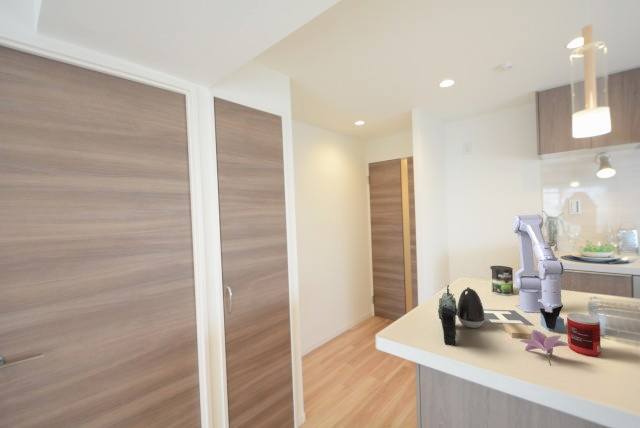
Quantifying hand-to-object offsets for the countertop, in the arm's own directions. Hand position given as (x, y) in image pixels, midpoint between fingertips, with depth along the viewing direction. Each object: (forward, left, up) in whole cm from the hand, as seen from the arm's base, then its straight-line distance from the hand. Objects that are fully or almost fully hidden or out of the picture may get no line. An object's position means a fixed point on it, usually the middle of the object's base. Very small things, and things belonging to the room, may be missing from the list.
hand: (552, 325), depth 102 cm
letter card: (+14, -10, -1) cm, 17 cm away
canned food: (0, +16, -2) cm, 16 cm away
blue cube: (0, 0, -1) cm, 1 cm away
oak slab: (+14, +6, -2) cm, 15 cm away
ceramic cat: (+40, +10, -2) cm, 41 cm away
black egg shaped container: (+29, 0, -2) cm, 29 cm away
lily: (+15, +22, -2) cm, 27 cm away
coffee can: (-1, -45, -2) cm, 45 cm away
